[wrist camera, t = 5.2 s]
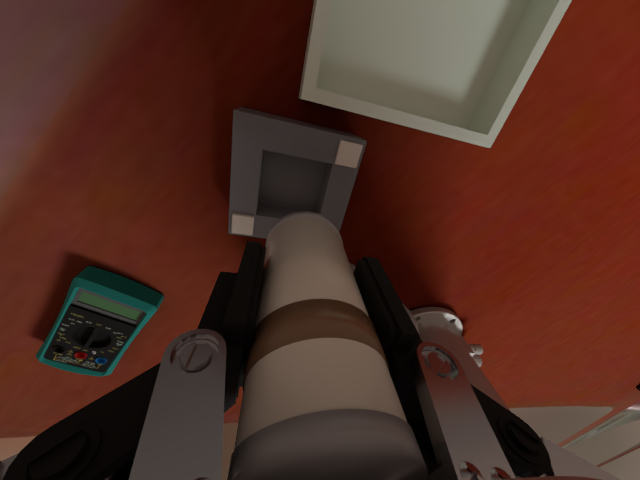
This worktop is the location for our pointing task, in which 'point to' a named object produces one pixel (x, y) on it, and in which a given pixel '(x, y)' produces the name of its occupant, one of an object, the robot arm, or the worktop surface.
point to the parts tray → (427, 60)
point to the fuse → (318, 371)
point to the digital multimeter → (98, 322)
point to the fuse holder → (288, 171)
